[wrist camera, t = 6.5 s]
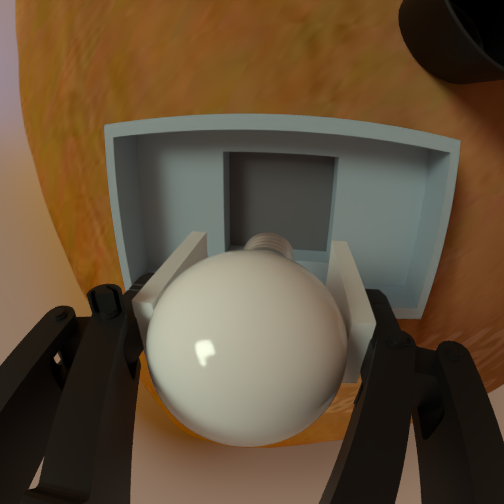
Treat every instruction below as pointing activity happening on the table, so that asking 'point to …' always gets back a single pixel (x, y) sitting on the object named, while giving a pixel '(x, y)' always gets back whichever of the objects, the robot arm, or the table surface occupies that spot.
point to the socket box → (286, 193)
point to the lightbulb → (247, 345)
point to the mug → (456, 38)
